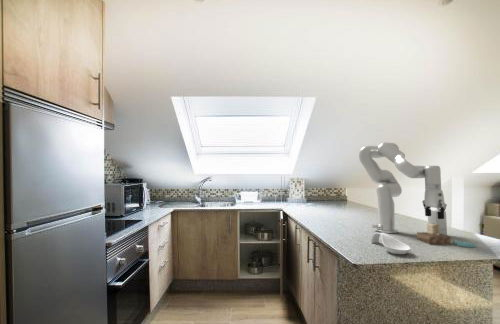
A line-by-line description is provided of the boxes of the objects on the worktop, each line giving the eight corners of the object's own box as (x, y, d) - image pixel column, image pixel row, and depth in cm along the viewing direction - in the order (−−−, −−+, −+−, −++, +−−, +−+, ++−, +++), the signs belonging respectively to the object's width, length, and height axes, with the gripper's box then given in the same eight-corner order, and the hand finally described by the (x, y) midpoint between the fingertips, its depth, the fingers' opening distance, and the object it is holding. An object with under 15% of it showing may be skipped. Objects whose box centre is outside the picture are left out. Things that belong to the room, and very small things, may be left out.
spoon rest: (416, 256, 124) (416, 241, 124) (394, 257, 122) (394, 242, 122) (383, 242, 147) (383, 229, 147) (364, 243, 145) (364, 230, 146)
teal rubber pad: (463, 247, 137) (463, 245, 137) (449, 242, 146) (449, 241, 146) (479, 247, 137) (479, 245, 138) (465, 242, 146) (465, 240, 146)
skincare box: (447, 237, 159) (447, 211, 159) (436, 237, 159) (436, 211, 159) (437, 233, 167) (437, 209, 167) (427, 233, 167) (427, 209, 167)
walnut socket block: (429, 244, 143) (429, 236, 143) (417, 239, 153) (417, 232, 153) (450, 244, 144) (450, 236, 144) (437, 239, 154) (436, 232, 154)
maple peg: (432, 242, 146) (432, 224, 147) (427, 240, 150) (427, 223, 151) (439, 242, 146) (439, 224, 147) (434, 240, 150) (434, 223, 151)
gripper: (451, 187, 140) (453, 220, 140) (428, 186, 158) (429, 215, 157) (438, 188, 140) (439, 220, 139) (416, 186, 157) (417, 215, 157)
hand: (434, 217), depth 148 cm, fingers open, 9 cm apart
